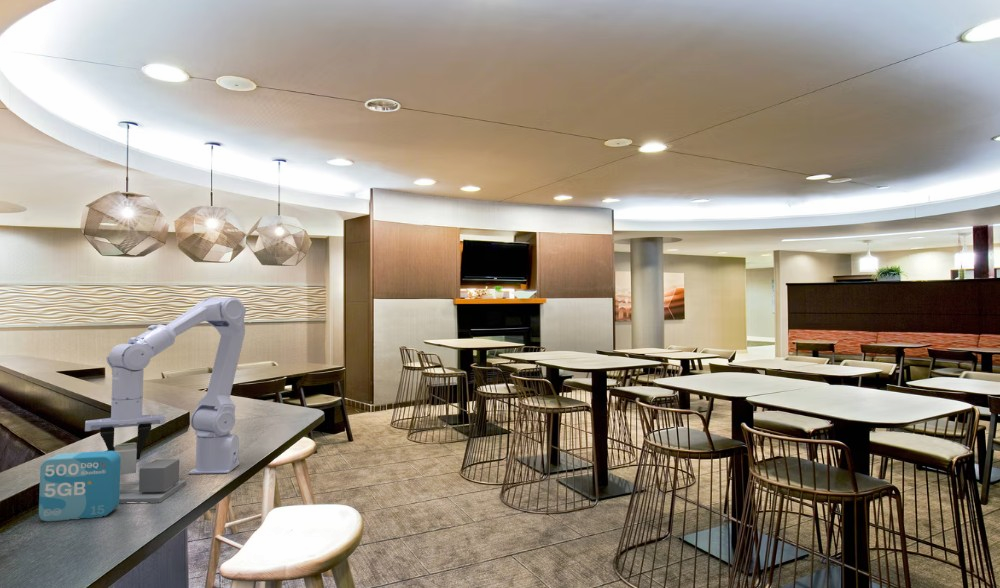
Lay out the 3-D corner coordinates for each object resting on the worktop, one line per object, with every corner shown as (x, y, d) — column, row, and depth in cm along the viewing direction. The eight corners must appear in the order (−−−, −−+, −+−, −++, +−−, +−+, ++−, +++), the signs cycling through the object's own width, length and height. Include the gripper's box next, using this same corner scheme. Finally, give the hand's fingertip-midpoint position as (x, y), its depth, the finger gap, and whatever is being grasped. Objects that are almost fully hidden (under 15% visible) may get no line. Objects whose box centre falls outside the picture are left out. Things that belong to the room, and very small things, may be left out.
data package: (37, 522, 104) (40, 459, 104) (50, 514, 108) (52, 453, 109) (109, 517, 107) (111, 455, 107) (119, 509, 111) (121, 450, 112)
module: (135, 464, 124) (136, 442, 124) (135, 472, 118) (136, 449, 118) (114, 467, 122) (114, 444, 122) (113, 475, 116) (114, 451, 116)
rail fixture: (185, 484, 127) (186, 456, 127) (159, 502, 115) (160, 471, 115) (93, 486, 125) (94, 457, 125) (57, 505, 113) (58, 473, 113)
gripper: (164, 393, 128) (162, 451, 127) (87, 398, 120) (85, 460, 119) (166, 397, 122) (164, 458, 121) (85, 402, 114) (83, 468, 113)
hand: (125, 459), depth 120 cm, fingers closed on module, 4 cm apart
